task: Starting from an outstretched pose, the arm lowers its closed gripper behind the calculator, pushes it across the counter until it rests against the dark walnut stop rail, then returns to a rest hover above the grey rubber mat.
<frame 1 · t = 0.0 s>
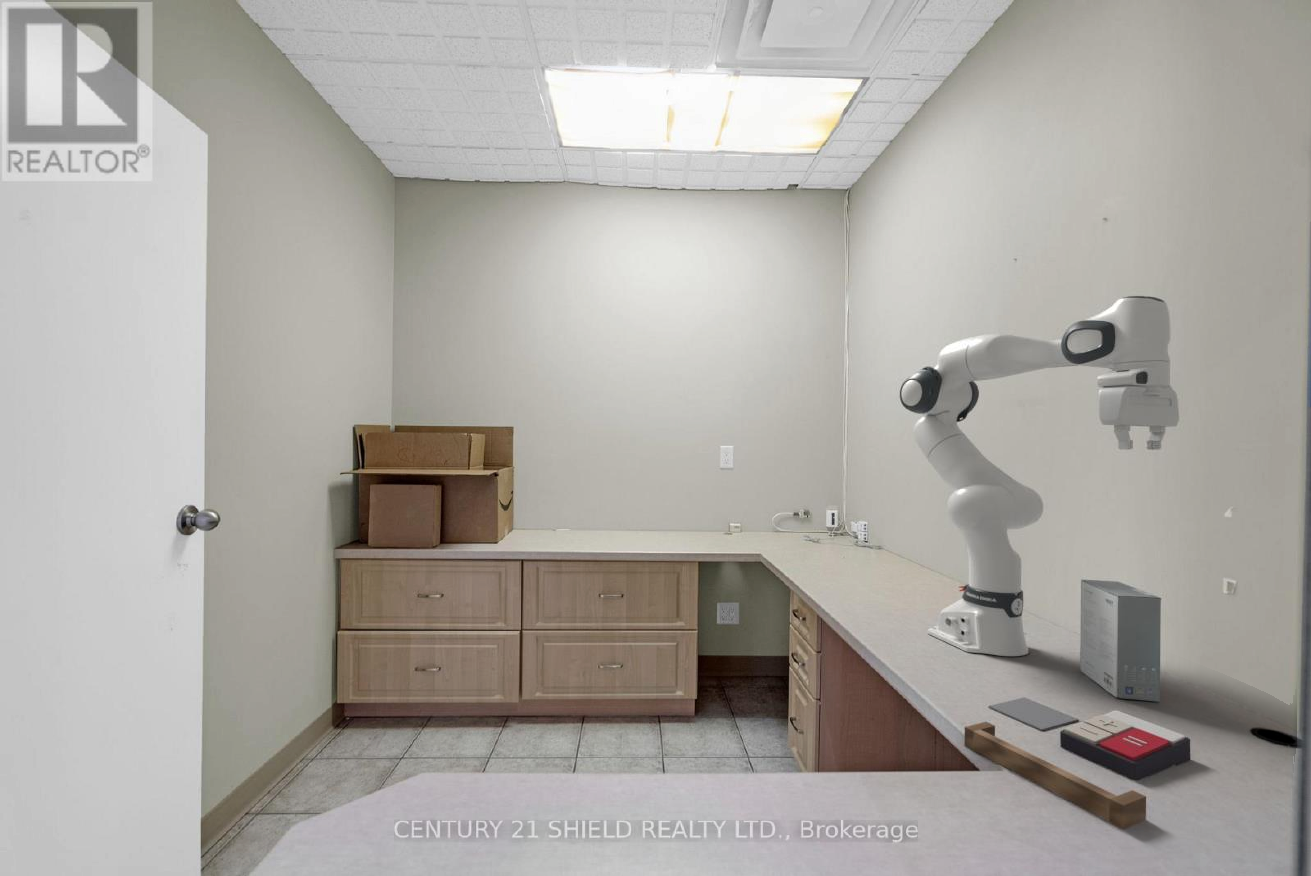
hand: (1139, 449, 120), 48 cm above the countertop, fingers open, 8 cm apart
stop rail: (1037, 781, 89), on the countertop
rest mat: (1032, 714, 111), on the countertop
hard drive box: (1117, 686, 125), on the countertop
calculator: (1124, 756, 98), on the countertop
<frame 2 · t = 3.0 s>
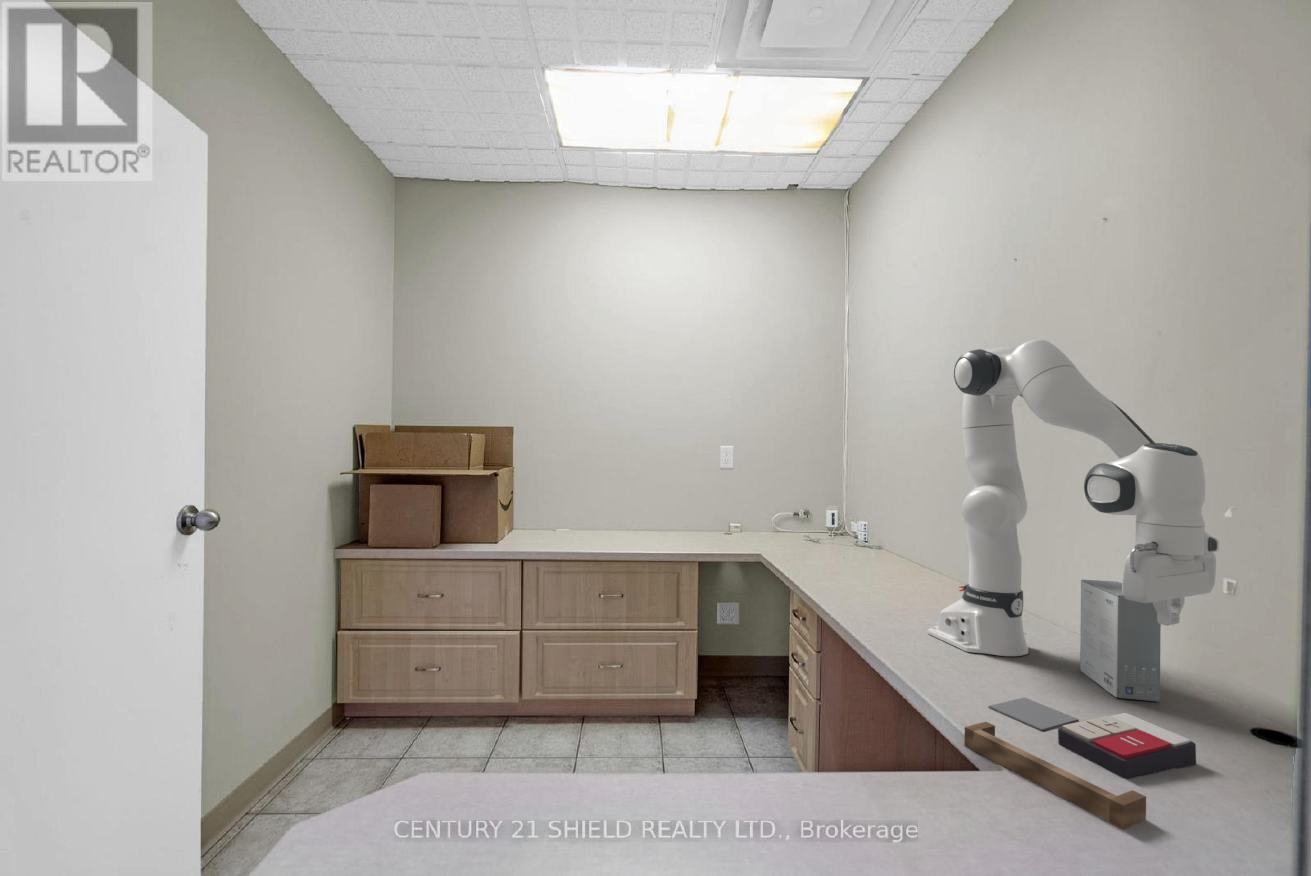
hand: (1168, 624, 103), 19 cm above the countertop, fingers closed
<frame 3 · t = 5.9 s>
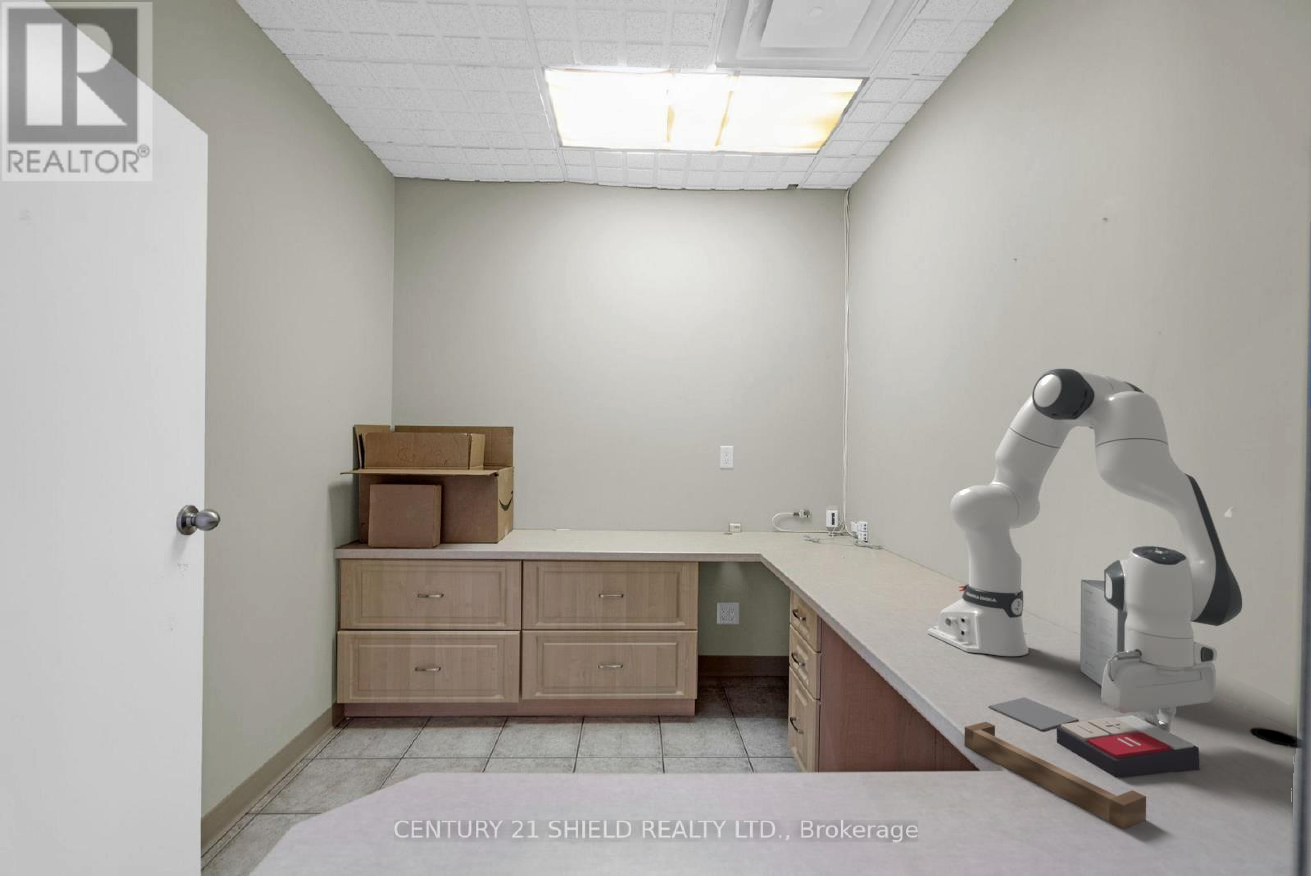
hand: (1157, 732, 101), 2 cm above the countertop, fingers closed
calculator: (1125, 759, 97), on the countertop, touching gripper
everything else where it was.
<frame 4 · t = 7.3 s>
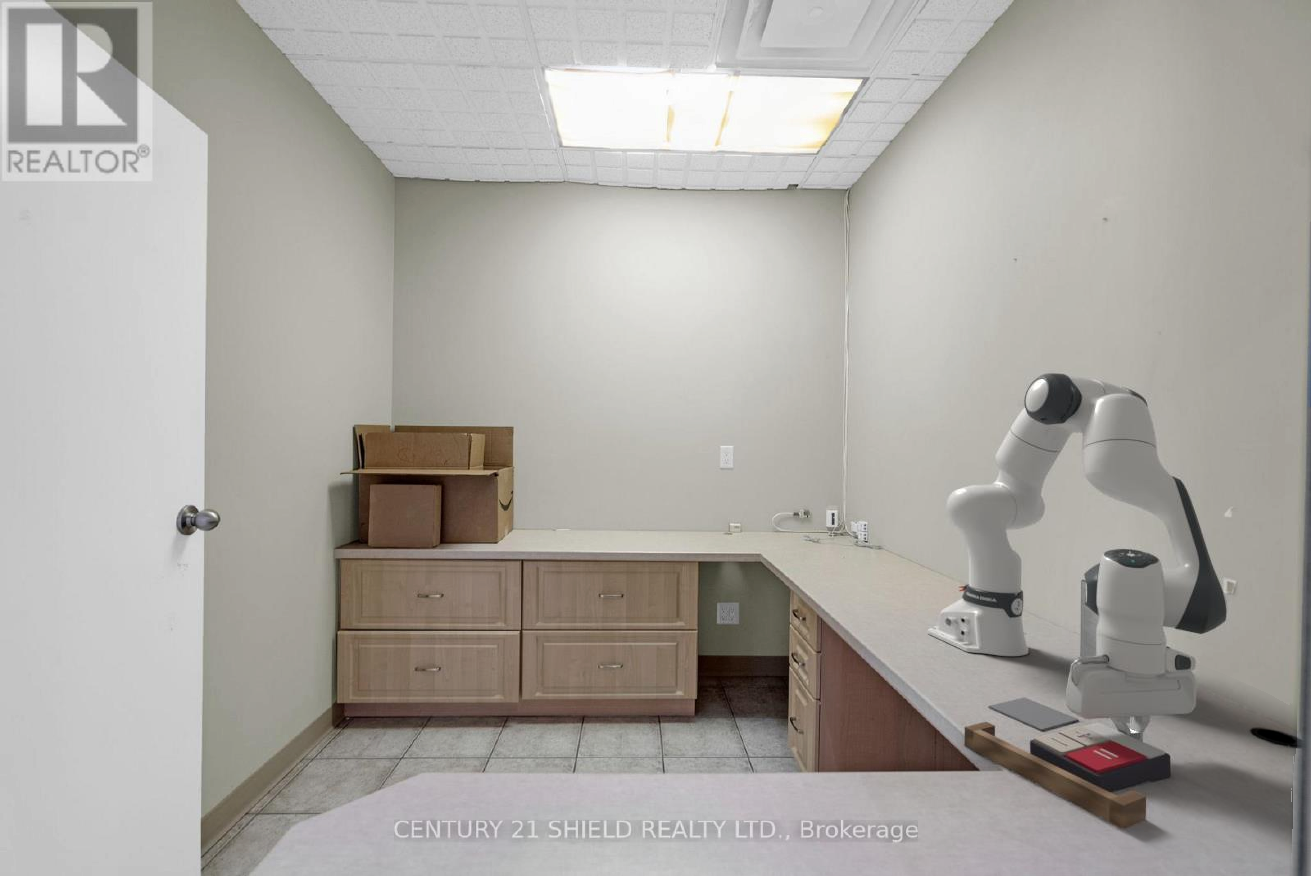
hand: (1129, 741, 98), 2 cm above the countertop, fingers closed
calculator: (1098, 770, 94), on the countertop, touching gripper
everything else where it was.
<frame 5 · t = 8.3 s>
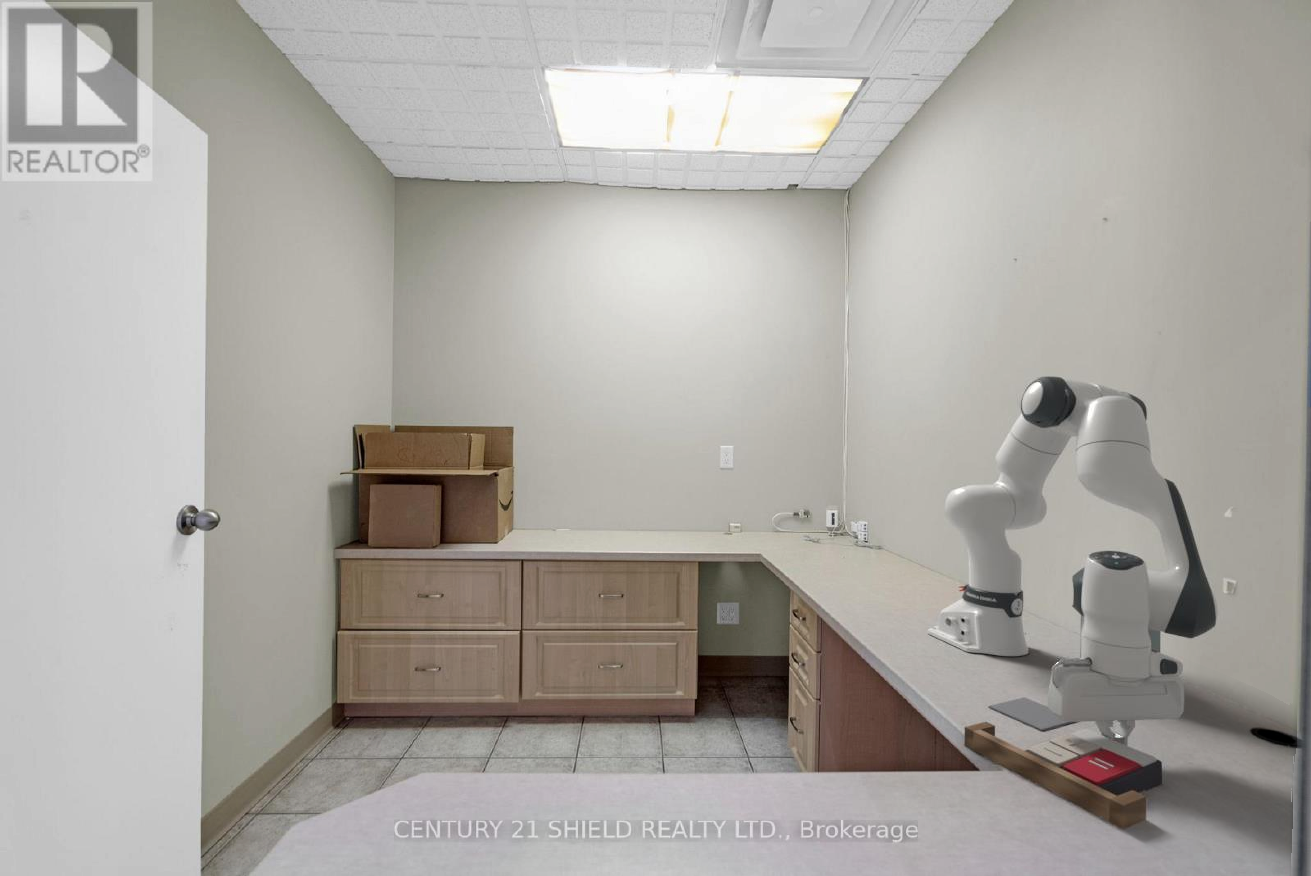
hand: (1114, 746, 96), 2 cm above the countertop, fingers closed
calculator: (1090, 780, 91), on the countertop
everything else where it was.
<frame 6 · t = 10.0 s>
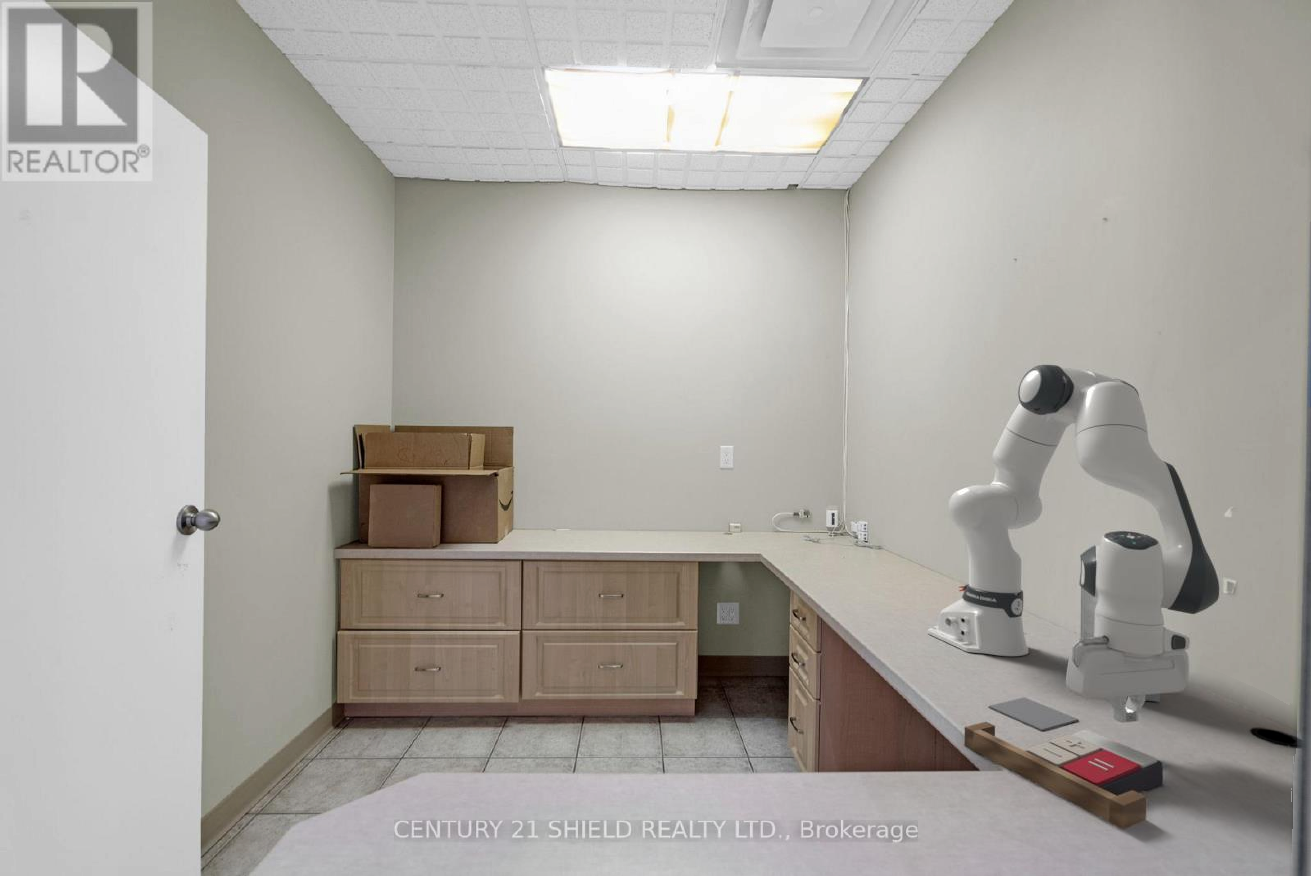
hand: (1125, 720, 99), 5 cm above the countertop, fingers closed
nothing on the countertop moved.
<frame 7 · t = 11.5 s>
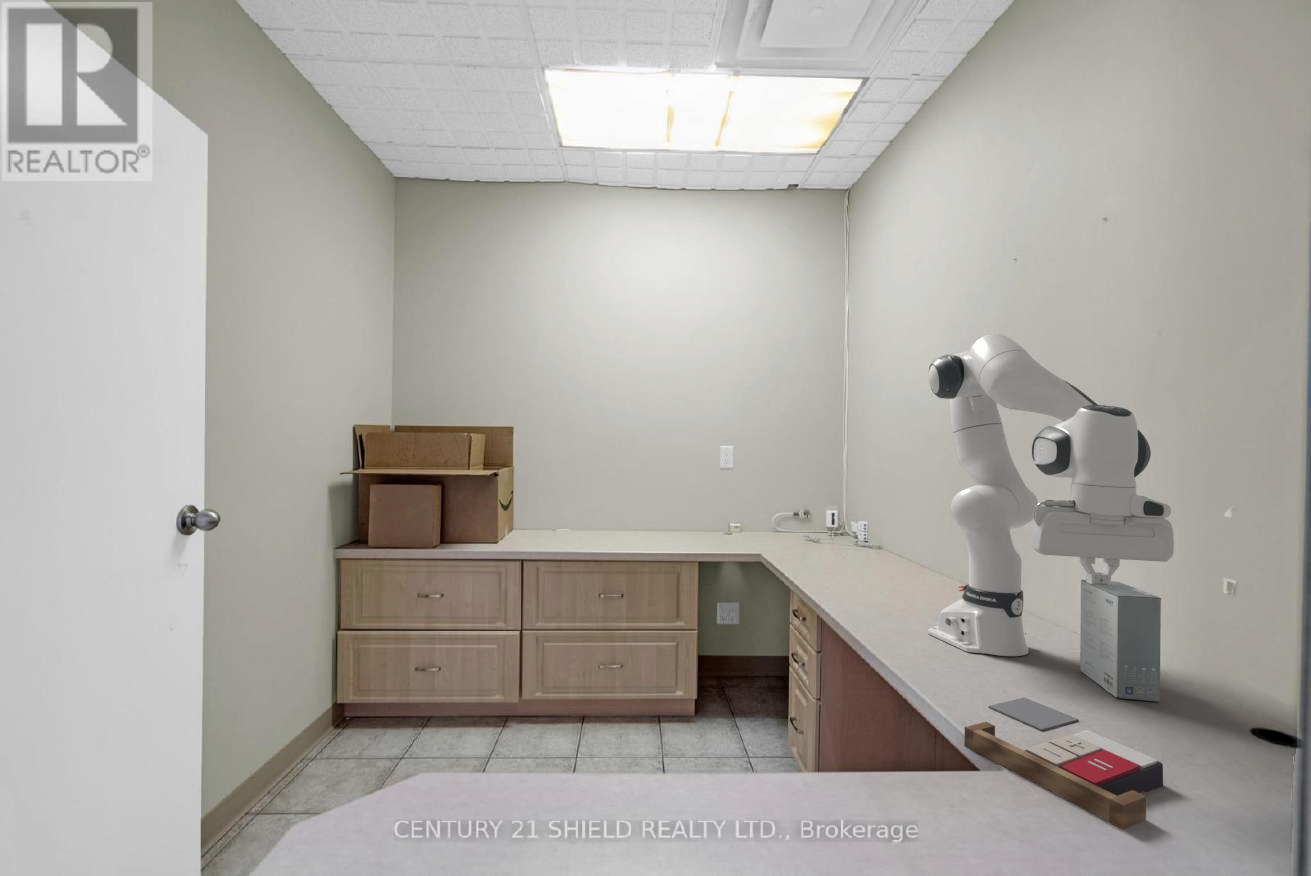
hand: (1098, 584, 104), 25 cm above the countertop, fingers closed
nothing on the countertop moved.
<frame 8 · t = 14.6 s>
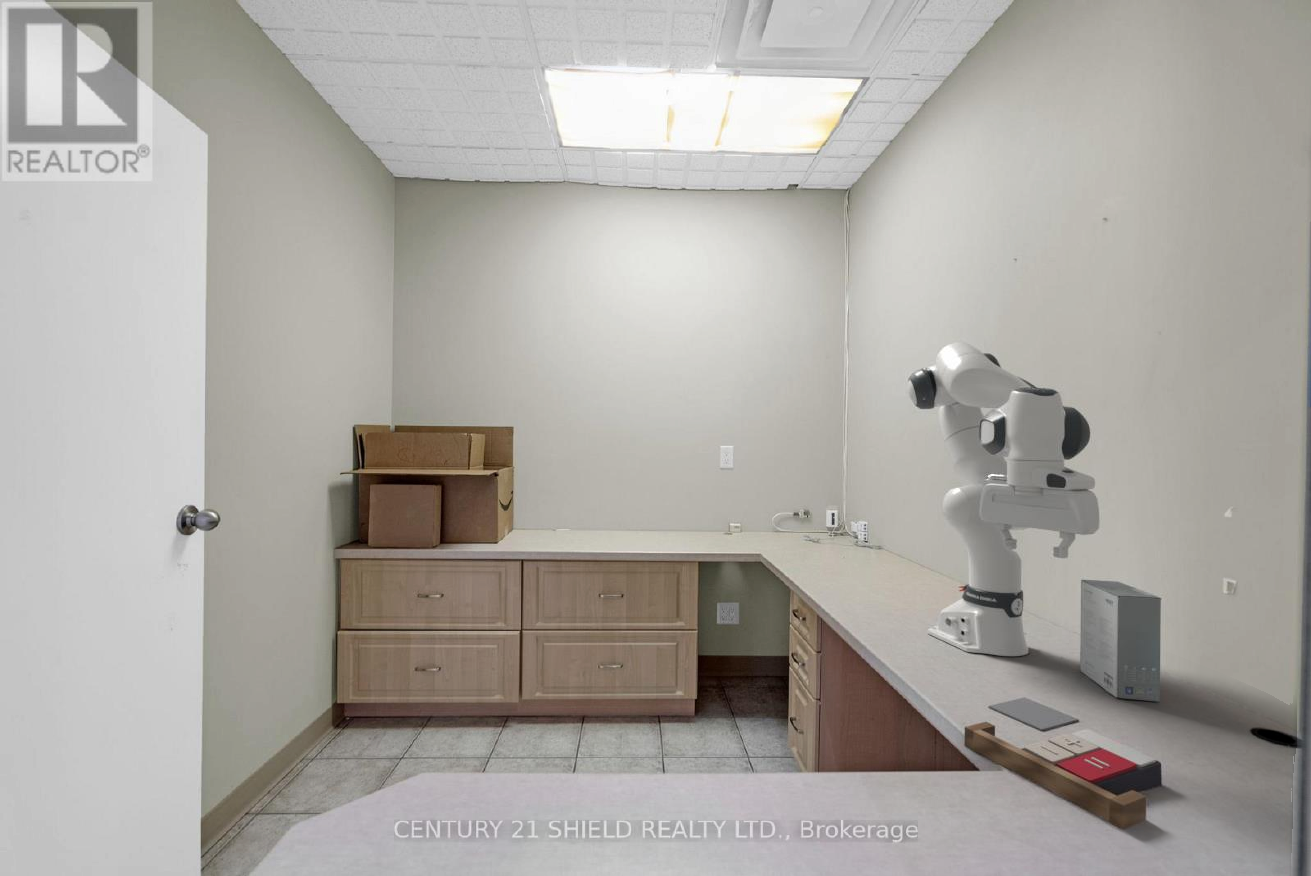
hand: (1034, 552, 111), 29 cm above the countertop, fingers open, 8 cm apart
nothing on the countertop moved.
at the end: calculator inside the target area (2.4 cm from its centre), on the countertop; calculator moved 12.3 cm from its start; calculator touching countertop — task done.
